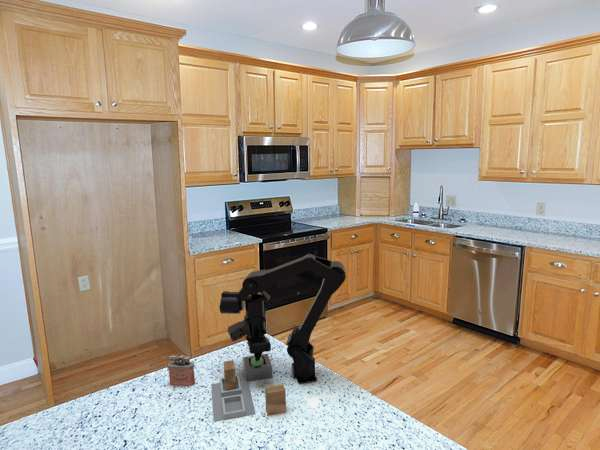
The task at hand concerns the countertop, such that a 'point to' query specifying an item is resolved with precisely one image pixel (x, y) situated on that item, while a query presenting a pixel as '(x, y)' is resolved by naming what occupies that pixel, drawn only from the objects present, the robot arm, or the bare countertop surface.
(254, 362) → the button
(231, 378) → the billet
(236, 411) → the grey socket board
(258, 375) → the button box
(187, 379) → the lighter
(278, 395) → the billet
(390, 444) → the countertop surface
